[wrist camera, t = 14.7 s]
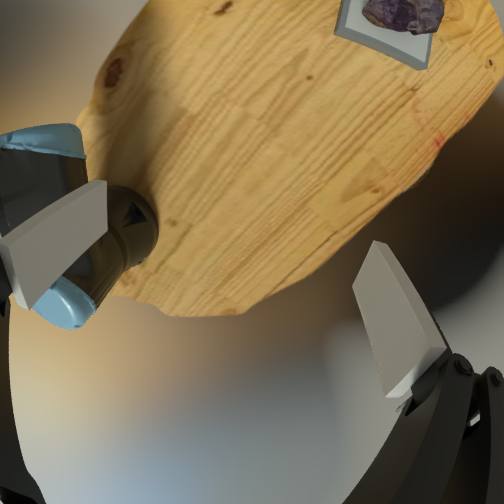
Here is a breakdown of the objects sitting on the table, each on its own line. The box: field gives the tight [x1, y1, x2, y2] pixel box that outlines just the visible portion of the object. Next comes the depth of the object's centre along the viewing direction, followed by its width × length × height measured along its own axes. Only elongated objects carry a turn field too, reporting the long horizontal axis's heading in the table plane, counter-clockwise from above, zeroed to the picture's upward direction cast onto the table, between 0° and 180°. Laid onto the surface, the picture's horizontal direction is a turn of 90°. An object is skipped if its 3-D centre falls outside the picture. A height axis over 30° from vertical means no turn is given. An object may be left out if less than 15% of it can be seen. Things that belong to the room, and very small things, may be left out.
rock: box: [362, 0, 444, 36], centre depth 17 cm, size 12×9×10 cm
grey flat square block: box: [334, 0, 433, 71], centre depth 22 cm, size 14×14×3 cm
